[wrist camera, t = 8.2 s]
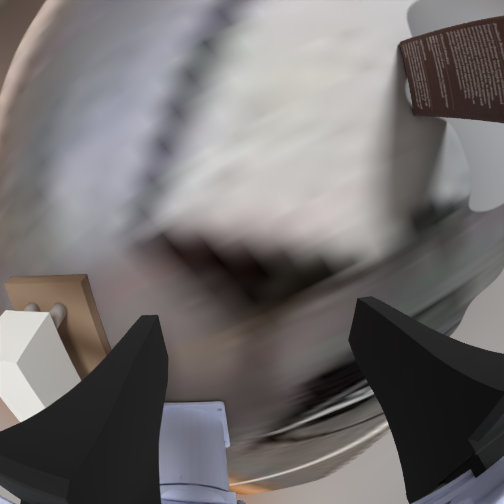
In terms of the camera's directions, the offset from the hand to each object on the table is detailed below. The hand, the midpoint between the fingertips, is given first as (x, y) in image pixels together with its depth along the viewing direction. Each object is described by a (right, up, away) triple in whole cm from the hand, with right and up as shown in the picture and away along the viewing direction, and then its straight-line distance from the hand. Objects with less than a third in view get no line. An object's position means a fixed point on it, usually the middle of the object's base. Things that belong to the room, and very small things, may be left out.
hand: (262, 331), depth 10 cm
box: (+13, +16, +6) cm, 21 cm away
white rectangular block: (-16, -6, +7) cm, 18 cm away
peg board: (-16, -5, +10) cm, 19 cm away
